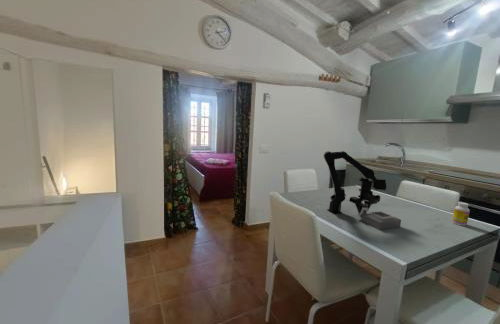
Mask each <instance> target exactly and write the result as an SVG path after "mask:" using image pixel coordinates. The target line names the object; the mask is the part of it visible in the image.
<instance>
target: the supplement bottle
mask: <svg viewBox="0 0 500 324" xmlns="http://www.w3.org/2000/svg"><path fill="white" fill-rule="evenodd" d="M469 205H470V204H469V203H466V202H461V201H458V202H457V205H456V206H454V210H453V215H452V220H451V222H452V223H453V224H455V225H458V226H463V227H464V226H465V227H466V226H467V225H468V221H469V217H470V212H471V210H470V209H469V208H468V207H469Z"/></svg>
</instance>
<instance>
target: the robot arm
mask: <svg viewBox="0 0 500 324" xmlns="http://www.w3.org/2000/svg"><path fill="white" fill-rule="evenodd" d="M323 159H324V161H325V162H326V165H327V168H328V171H329V174H330V177H331V182H332V186H333V194H332V195H331V196H330V200H331V201H330V202H329V208H328V209H326V210H327V211H328V212H330V213H332V214H342V213H343V211H341V210H342V203H343V202H344V201H345V200H346V197H347V194H346V193H345V192H346V191H345V188H344V187H341V183H340V181H339V177H338V173H337V170H336V166H335V162H336V161H335V160H339V159H343V160H345V161H346V162H347V163H348V164H350V165H351V166H353V167H354V168H355V169H357V171H358V172H359V173H360V174H361V175H362V176H363V177H362V176H361V177H360V178H358V179H357V180H358V181H359V182H361V183H360V188H359V189H358V191H359V195H357V196H350V197H349V202H350V203H353V204H354V205H355V207H356V210H357V214H358V213H360V212H361V208H362V205H364V204H363V203H365V204H368V211H369V209H370V208H371V206H372V205H377V204H378V203H379V202H380V201H381V195H379V194H377V195H375V194H373V193H374V191H373V190H376V191H384V192H385V191H386V190H387V182H386V178H385V179H384V178H377V177H376V176H375V171H374V170H372V168H370V167H367V166H365V165H363V164H361V162H359V161H358V160H356V159H355V158H353V157H352V156H351V155H349V154H348V152H346V151H344V150H342V151H325V152H324V153H323ZM372 189H373V190H372Z"/></svg>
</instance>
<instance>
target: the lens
mask: <svg viewBox="0 0 500 324" xmlns="http://www.w3.org/2000/svg"><path fill="white" fill-rule="evenodd" d="M362 203H363V204H364V205H362V208H361V212H360V213H358V212H357V215H358V216H360V217H362V214H368V212H369V210H368V204H365V203H364V202H362Z"/></svg>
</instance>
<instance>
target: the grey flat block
mask: <svg viewBox="0 0 500 324" xmlns="http://www.w3.org/2000/svg"><path fill="white" fill-rule="evenodd" d="M361 221H362V222H363V223H365V224H367V225H369V226H371V227H373V228H375V229H377V230H386V229H392V228H393V229H394V228H399V227H401V222H402V219H400V218H397V217H396V216H393V215H392V214H388V213H386V212H383V211H371V212H369V213H367V214H362V216H361Z"/></svg>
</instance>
